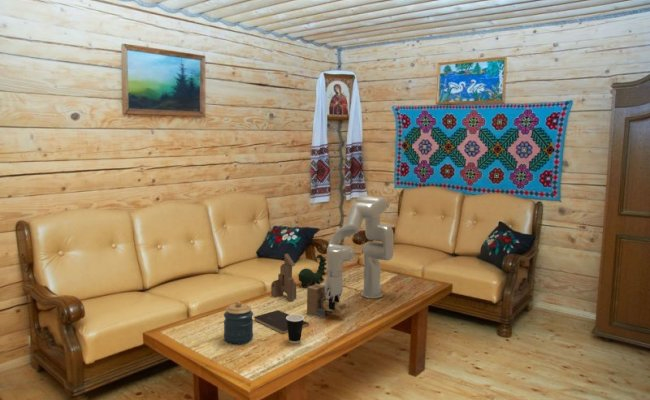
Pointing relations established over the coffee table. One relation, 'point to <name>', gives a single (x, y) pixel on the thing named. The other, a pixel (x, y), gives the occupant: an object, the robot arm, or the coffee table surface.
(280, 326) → the hardcover book
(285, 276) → the wooden toy
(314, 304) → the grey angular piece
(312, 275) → the toy figurine
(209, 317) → the coffee table surface
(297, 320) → the dixie cup
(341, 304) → the bed rail
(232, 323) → the canister
